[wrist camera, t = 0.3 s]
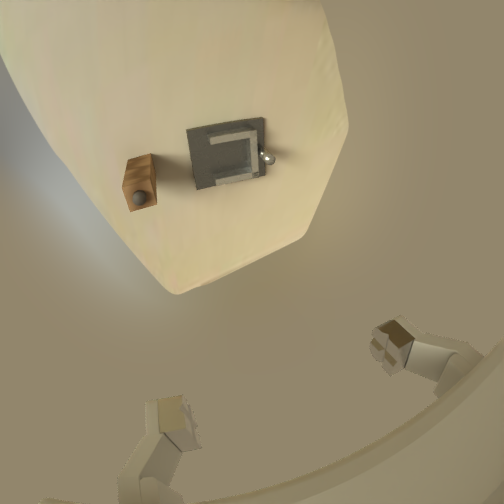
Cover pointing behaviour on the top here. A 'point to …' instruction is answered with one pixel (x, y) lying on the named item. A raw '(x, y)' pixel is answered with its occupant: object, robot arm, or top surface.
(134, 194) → the walnut toggle block
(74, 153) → the top surface
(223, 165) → the keeper bracket
